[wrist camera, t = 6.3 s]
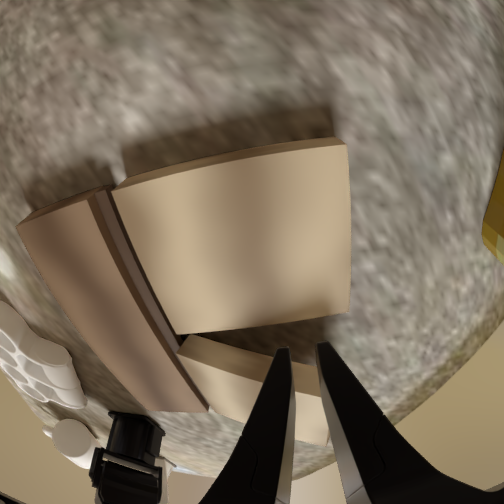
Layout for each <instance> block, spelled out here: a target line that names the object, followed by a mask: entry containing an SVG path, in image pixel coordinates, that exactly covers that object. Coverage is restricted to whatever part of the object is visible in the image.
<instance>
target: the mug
mask: <svg viewBox="0 0 504 504" xmlns="http://www.w3.org/2000/svg"><path fill="white" fill-rule="evenodd" d="M42 429H43V432H44V433H45V434H46V435H48V436H49V437H51V438H52V440H53V443H54V445H55V447H56V448H57V450H58V451H59V452H60V453H62V454H63V455H64V456H65V457H67V458H68V459H70V460H71V461H72V462H74V463H75V464H76V465H78V466H80V467H82V468H86V469H90V466H91V462H92V457H93V453H94V450H95V447H98V448H101V447H102V446H101V445H100V443H99V442H98V441H97V440H96V438H95V437H94V436H93V435H92V434H91V432H90V431H89V430H88V429H87V427H86V426H85V425H84V424H83V423H81V422H80V421H77V420H75V419H64V420H61V421H59V422H58V423H57V424H56V425H55V427H54V428H52V427H49V426H46V425H44V426H43V427H42ZM102 460H103V459H102Z"/></svg>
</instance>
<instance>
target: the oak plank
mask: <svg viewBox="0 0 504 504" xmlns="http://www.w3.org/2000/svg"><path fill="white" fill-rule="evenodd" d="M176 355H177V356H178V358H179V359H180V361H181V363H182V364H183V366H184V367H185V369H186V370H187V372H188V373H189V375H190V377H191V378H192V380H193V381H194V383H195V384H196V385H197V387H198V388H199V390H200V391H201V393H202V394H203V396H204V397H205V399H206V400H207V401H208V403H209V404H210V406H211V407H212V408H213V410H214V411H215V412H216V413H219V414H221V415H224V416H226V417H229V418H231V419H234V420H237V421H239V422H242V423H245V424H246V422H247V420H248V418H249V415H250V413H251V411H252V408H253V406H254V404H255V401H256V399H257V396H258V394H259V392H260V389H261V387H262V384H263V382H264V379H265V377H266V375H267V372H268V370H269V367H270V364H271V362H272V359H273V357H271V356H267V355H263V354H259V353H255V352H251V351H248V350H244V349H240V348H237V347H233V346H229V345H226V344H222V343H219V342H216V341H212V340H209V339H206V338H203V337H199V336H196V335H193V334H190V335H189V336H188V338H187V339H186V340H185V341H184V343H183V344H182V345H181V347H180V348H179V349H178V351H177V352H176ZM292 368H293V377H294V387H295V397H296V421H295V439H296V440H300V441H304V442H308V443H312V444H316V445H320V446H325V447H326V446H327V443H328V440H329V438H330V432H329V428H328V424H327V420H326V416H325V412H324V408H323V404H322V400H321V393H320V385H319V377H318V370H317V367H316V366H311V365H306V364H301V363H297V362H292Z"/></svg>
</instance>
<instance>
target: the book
mask: <svg viewBox="0 0 504 504" xmlns="http://www.w3.org/2000/svg"><path fill="white" fill-rule="evenodd" d="M482 238H483V243H484V245H485V246H486V247H487V248H488V249H489V250H490V251H491V252H492V253H493V254H494V255H495V257H496V258H497V259H498V260H499V261H500V262H501V263H502V264H503V265H504V149H503V154H502V159H501V163H500V167H499V171H498V175H497V178H496V182H495V186H494V189H493V192H492V196H491V199H490V202H489V205H488V208H487V211H486V214H485V217H484V219H483V226H482Z"/></svg>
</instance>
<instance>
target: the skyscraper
mask: <svg viewBox="0 0 504 504" xmlns="http://www.w3.org/2000/svg"><path fill="white" fill-rule="evenodd" d="M154 466H157V467H158V466H160V467H162V468H163V470H162V496H161V501H160V503H159V504H169V494H168V482H167V479H168V477H169V475H170V473H171V471H172V469H173V467H176V465H174V464H173V463H172V462H170V461H169V460H167V459H166V458H163V457H156V459H155V465H154ZM146 473H148V472H146ZM149 474H150V473H149Z"/></svg>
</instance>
